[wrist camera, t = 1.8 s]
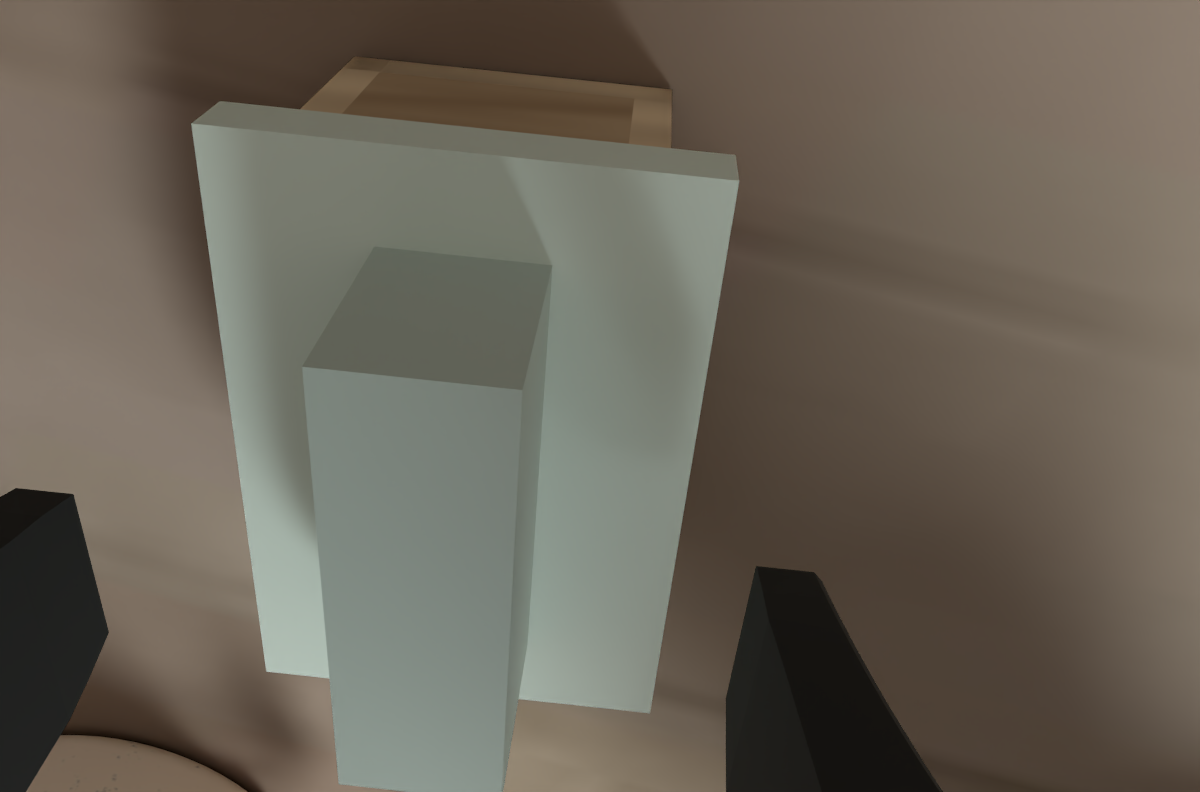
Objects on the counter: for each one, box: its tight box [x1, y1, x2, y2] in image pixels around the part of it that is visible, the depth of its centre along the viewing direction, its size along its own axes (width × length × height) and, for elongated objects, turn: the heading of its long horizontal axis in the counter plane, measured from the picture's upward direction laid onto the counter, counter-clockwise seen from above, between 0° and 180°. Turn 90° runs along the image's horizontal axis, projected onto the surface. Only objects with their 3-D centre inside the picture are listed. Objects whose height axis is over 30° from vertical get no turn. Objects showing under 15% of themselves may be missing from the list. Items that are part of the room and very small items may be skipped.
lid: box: [191, 101, 739, 792], centre depth 12 cm, size 8×6×3 cm
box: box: [301, 56, 672, 148], centre depth 15 cm, size 8×4×3 cm, turn 175°
